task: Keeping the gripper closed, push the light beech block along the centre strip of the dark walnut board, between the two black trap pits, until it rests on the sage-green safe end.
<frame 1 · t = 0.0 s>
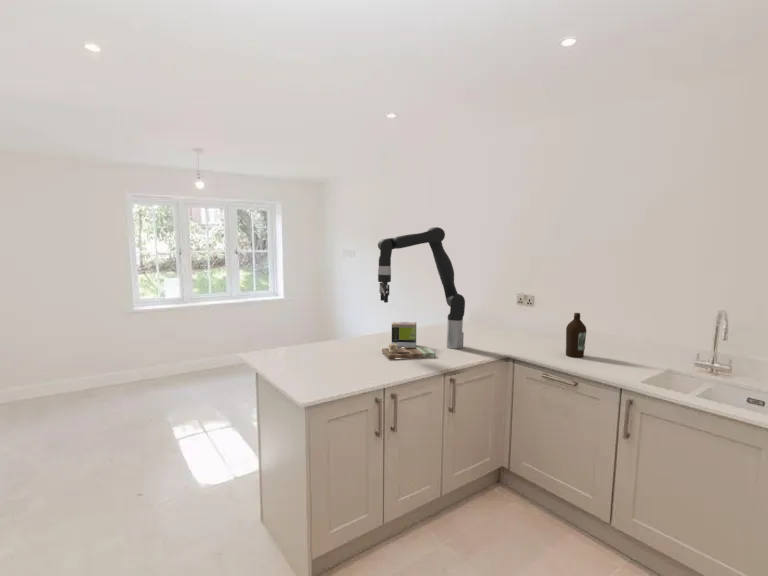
hand: (384, 301, 247), 29 cm above the worktop, tool pointing down, fingers open, 8 cm apart
block: (392, 351, 238), point 2 cm above the worktop, touching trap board
tea box: (403, 346, 262), on the worktop
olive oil: (574, 356, 244), on the worktop
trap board: (408, 354, 241), on the worktop
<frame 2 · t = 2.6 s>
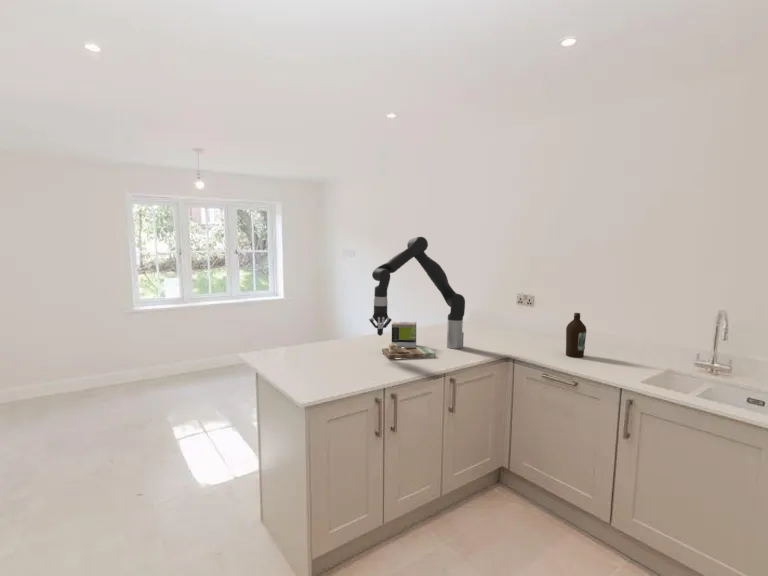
hand: (379, 335, 236), 12 cm above the worktop, tool pointing down, fingers closed
nothing on the worktop moved.
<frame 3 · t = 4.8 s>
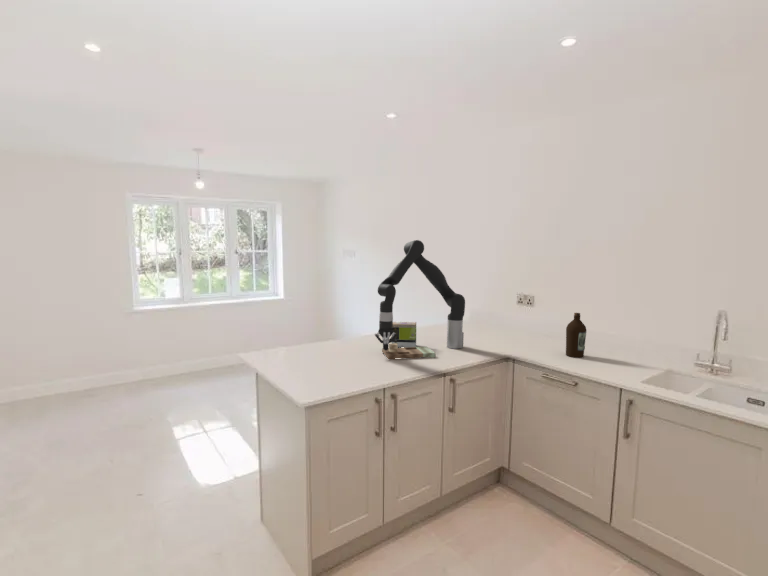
hand: (385, 350, 237), 3 cm above the worktop, tool pointing down, fingers closed
block: (392, 351, 238), point 3 cm above the worktop, touching gripper, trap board
everything else where it was.
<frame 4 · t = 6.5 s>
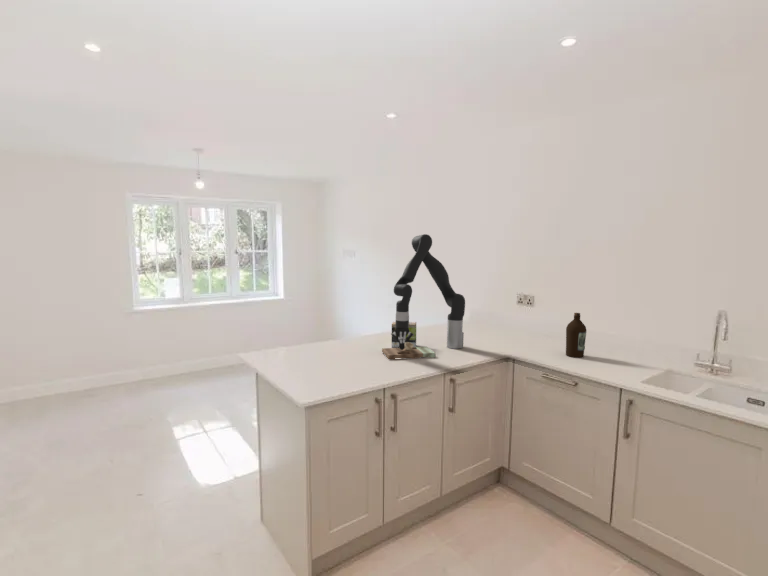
hand: (401, 349, 240), 3 cm above the worktop, tool pointing down, fingers closed
block: (406, 349, 241), point 3 cm above the worktop, tilted 24°, touching gripper
everything else where it was.
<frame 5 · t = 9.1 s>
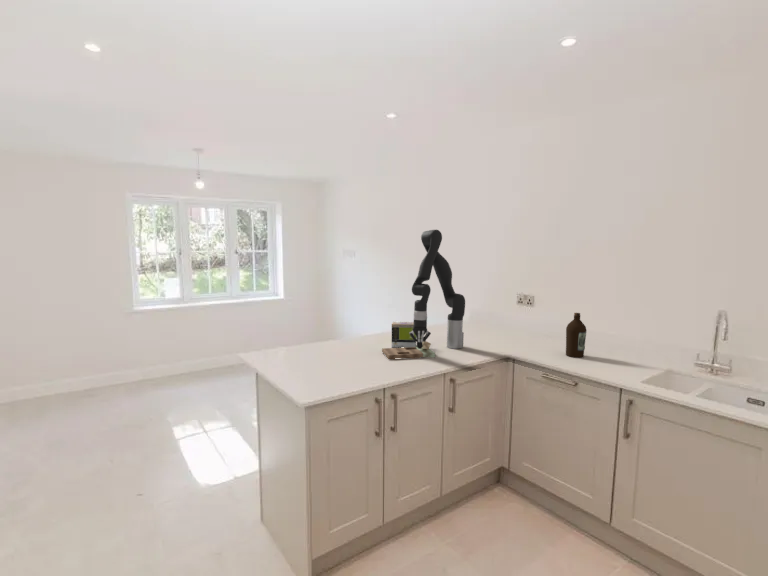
hand: (419, 348, 242), 4 cm above the worktop, tool pointing down, fingers closed
block: (423, 348, 244), point 3 cm above the worktop, tilted 25°, touching gripper, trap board
everything else where it was.
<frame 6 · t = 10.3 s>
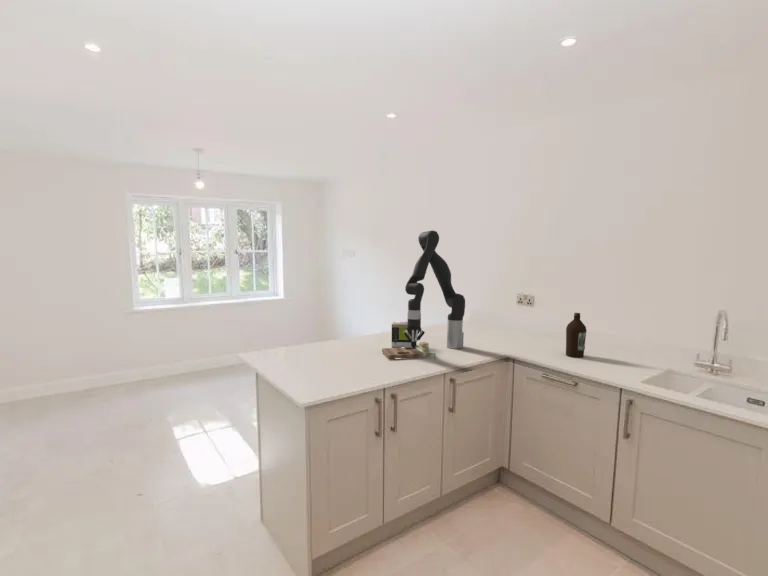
hand: (413, 347, 241), 4 cm above the worktop, tool pointing down, fingers closed
block: (423, 349, 244), point 2 cm above the worktop, touching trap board
everything else where it was.
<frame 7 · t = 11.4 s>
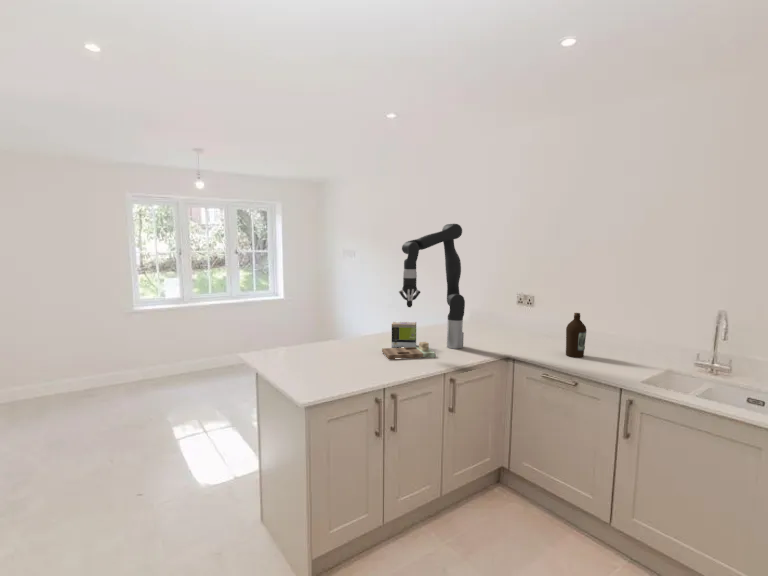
hand: (409, 307, 243), 27 cm above the worktop, tool pointing down, fingers closed
nothing on the worktop moved.
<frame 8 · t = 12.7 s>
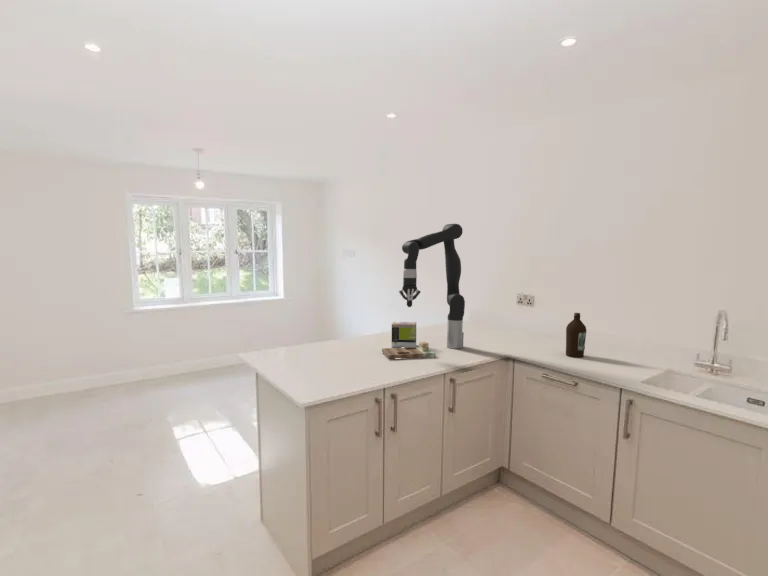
hand: (409, 306, 243), 27 cm above the worktop, tool pointing down, fingers closed
nothing on the worktop moved.
at the end: block 0.8 cm from the target spot, point 2.5 cm above the worktop; block tilted 0° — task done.
